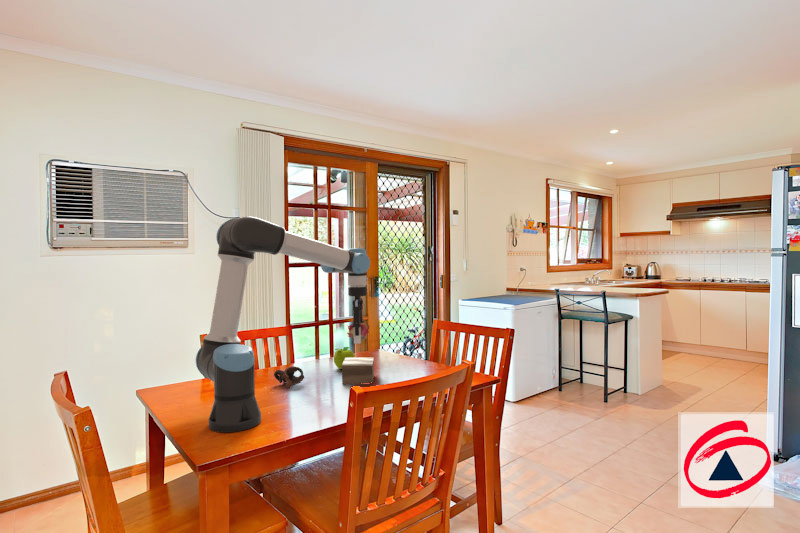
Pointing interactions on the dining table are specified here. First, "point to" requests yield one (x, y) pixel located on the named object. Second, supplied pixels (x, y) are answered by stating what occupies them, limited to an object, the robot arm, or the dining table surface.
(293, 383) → the pottery mug
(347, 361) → the pedestal
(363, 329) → the flower
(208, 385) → the dining table surface
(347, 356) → the fruit
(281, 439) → the dining table surface
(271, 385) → the dining table surface
